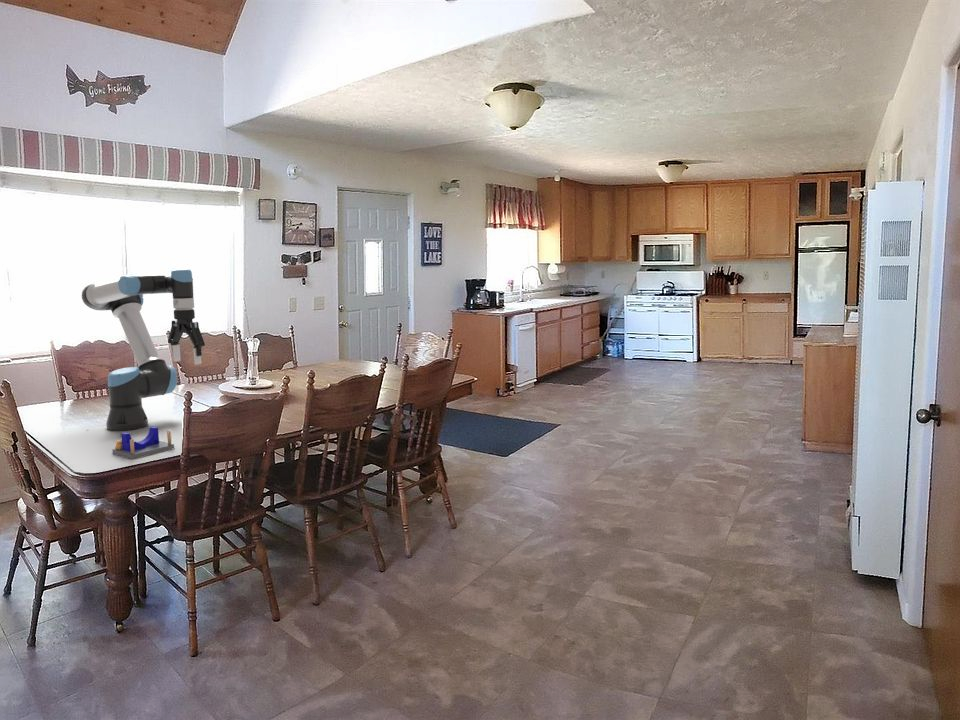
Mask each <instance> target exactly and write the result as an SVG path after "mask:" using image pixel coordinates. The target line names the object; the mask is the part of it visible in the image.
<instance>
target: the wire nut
mask: <svg viewBox="0 0 960 720" xmlns="http://www.w3.org/2000/svg"><path fill="white" fill-rule="evenodd" d="M114 446H115V447H114V449H118V450H121V449H122V439H121V440H120V439H117V440H116V442H115V445H114Z"/></svg>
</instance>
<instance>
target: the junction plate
mask: <svg viewBox="0 0 960 720" xmlns="http://www.w3.org/2000/svg"><path fill="white" fill-rule="evenodd" d="M166 436H167V442H166V441H161V440H159V444H155V445H151V446H147V447H146V448H143V449H139V450H134V438H132V439H131V440H130V449H131V452H128V451H125V450H122V449H121V450H118V449H115V448H112V449H111V450H112V451H111V452H112V454H113V455H115V454H116V455H117V456H119V455H120V456H119V457H122V456H123V458H126V457H127V459H129V458H131V459H130V460H134V458H135V459H138V457H139V458H143V457H146V456H145V455H147V456H149V454H150V455H154V454H157V452H158V453H162V452H166V451H168V450H169V449H170V450H173V449H172V448H174V449H175V444H174V443H172V431H171V430H167V431H166ZM165 450H166V451H165ZM161 451H162V452H161ZM153 453H154V454H153ZM142 456H143V457H142Z"/></svg>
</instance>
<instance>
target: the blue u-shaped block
mask: <svg viewBox="0 0 960 720" xmlns="http://www.w3.org/2000/svg"><path fill="white" fill-rule="evenodd" d="M120 436H121V438H120V439H121V440H122V450H125V451H128V452H131V449H130V440H131V439H133V438H132V436H131V433H129V432H124V431H123V432H121V433H120ZM159 441H160V437H159V427H157V426H154V425H153V426H149V429H148V433H147V435H146V437H145V438H144V439H142V440H140V441H134V450H139V449H143V448H146V447H147V446H151V445H155V444H159Z"/></svg>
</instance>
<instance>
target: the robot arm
mask: <svg viewBox="0 0 960 720" xmlns="http://www.w3.org/2000/svg"><path fill="white" fill-rule="evenodd" d="M152 294H155V295H156V294H171V295H172V303H173V309H174V310H173V318H174V320H171V327H170V333H169V335H168V339H167V343H168V344H170V345H171V348H172V360H173V362H181V361H182V360H181V347H180V346H181V345H180V340H181V338H182V337H183V334H186V336H188V337H189V340H190V341H191V343H192V345H193V360H194V362H193V363H194V364H193V365H195V366H196V365H202V364H203V363H202V362H203V361H202V348H203V347H205V345H206V344H205V340H204V338H203V336H202V332H201V330H200V325H199V322H198V321H194V320H193V319H195V317H196V316H195V313H196V312H195V299H194V298H195V297H194V279H193V272H192V270H191V269H189V268H187V269H186V268H185V269H184V268H178V269H175V268H174V269H172V270H171V271H170V273H154V274H153V273H152V274H125V275H124V274H123V275H121V276H120V278H119V279H114V280H111V281H109V282H95V283H92V284H88V285H86V286H85V287H84V288H83V290H82V292H81V299H82V302H83V303H84V305H85V306H86V307H88V308H89V309H92V310H95V311H111V312H112V315H113V317H115V318H117V319H118V320H119V322H120V325H121V327H122V329H123V331H124V335H125V336H126V339H127V341H128V344H129V346H130V348H131V351H132V354H133V355H134V358H135V361H136V364H137V365H138V366H137V367H136V366H129V367H122V368H118V369H115V370H113V371H110V372H109V374H108V375H107V390H108V400H109V412H108V415H107V420H106V424H105V426H106V429H107V430H109V431H119V432H120V431H131V430H136V429H137V430H138V429H142V428H145V427H147V426H148V425H149V419H148V417H147V414H146V411H145V410H144V408H143V403H142V399H146V398H152V397H157V396H164V395H167V394H171V393H173V392H174V391H175V390H176V387H177V383H178V375H177V371H176V368H175V367H173V365H167V362H166V360H165V359H163V358H160V356H159V354H158V352H157V349H156V347H155V344H154V342H153V339H152V337H151V335H150V333H149V331H148V328H147V326H146V323H145V320H144V318H143V317H142V314H141V310H142V308H143V307H142V306H143V305H144V298H143V297H144V295H152Z"/></svg>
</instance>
